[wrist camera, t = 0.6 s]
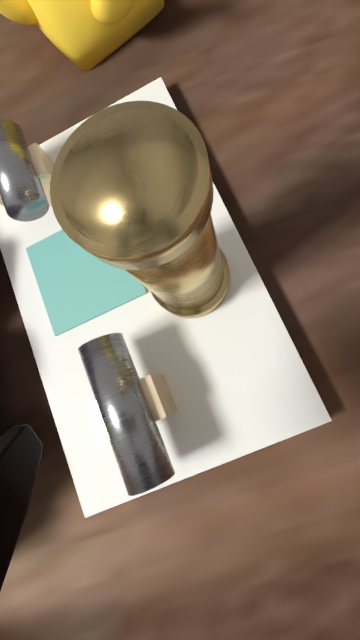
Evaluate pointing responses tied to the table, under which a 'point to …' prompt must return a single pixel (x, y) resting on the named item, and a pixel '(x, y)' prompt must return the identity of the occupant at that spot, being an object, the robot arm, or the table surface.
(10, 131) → the shafts
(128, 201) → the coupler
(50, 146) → the board
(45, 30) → the teapot
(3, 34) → the table surface
